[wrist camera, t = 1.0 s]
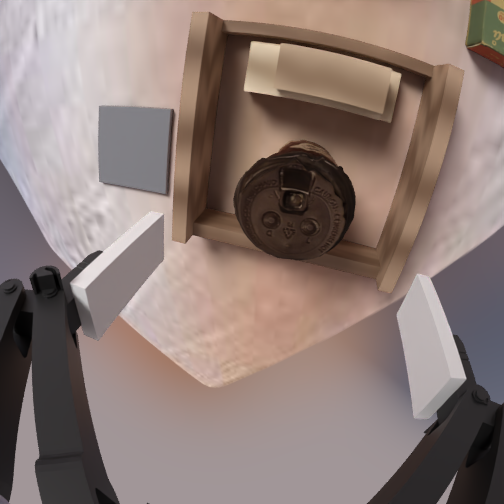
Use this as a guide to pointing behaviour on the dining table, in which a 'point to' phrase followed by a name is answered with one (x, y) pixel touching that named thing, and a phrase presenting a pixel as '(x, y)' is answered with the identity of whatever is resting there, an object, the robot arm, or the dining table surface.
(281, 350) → the dining table surface
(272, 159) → the coffee cup
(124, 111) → the coaster
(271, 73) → the offcut stack
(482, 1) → the carton
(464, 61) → the dining table surface
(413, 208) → the brown wooden tray
